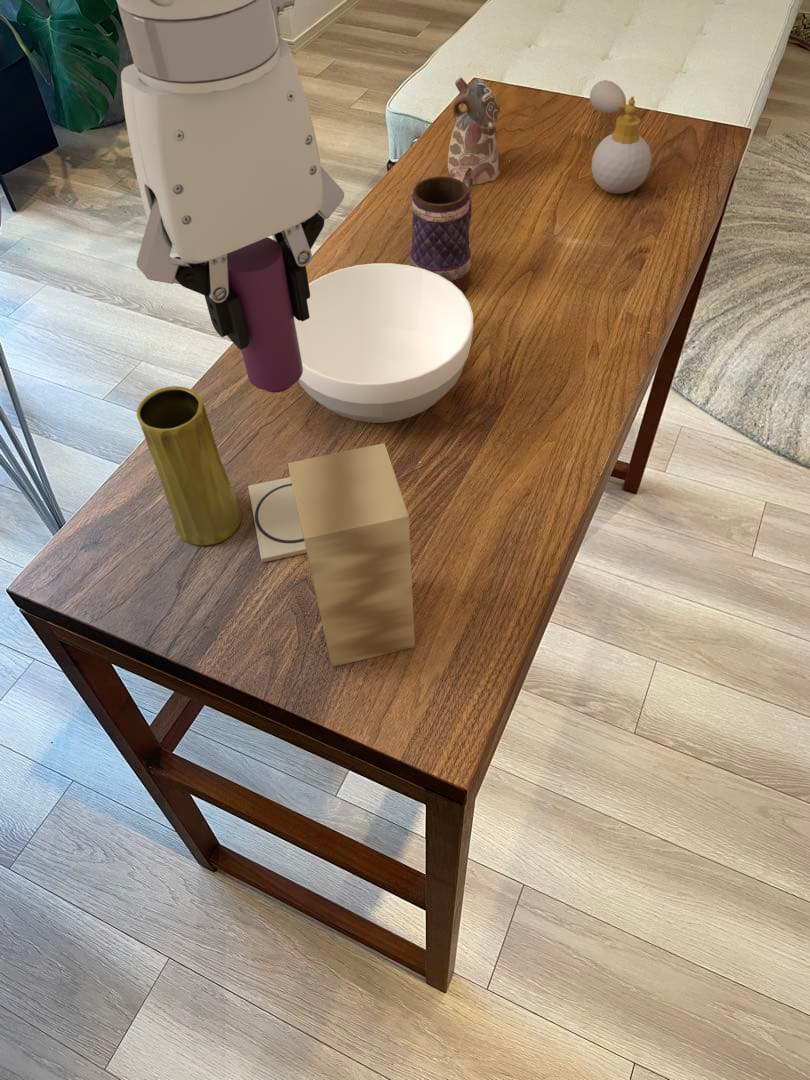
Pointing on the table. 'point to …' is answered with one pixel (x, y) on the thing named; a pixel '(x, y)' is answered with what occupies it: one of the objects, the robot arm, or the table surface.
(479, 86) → the figurine
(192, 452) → the vase
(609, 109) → the perfume bottle
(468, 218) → the mug
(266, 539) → the sketch card
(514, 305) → the table surface
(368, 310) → the bowl
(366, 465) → the stand
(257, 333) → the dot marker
